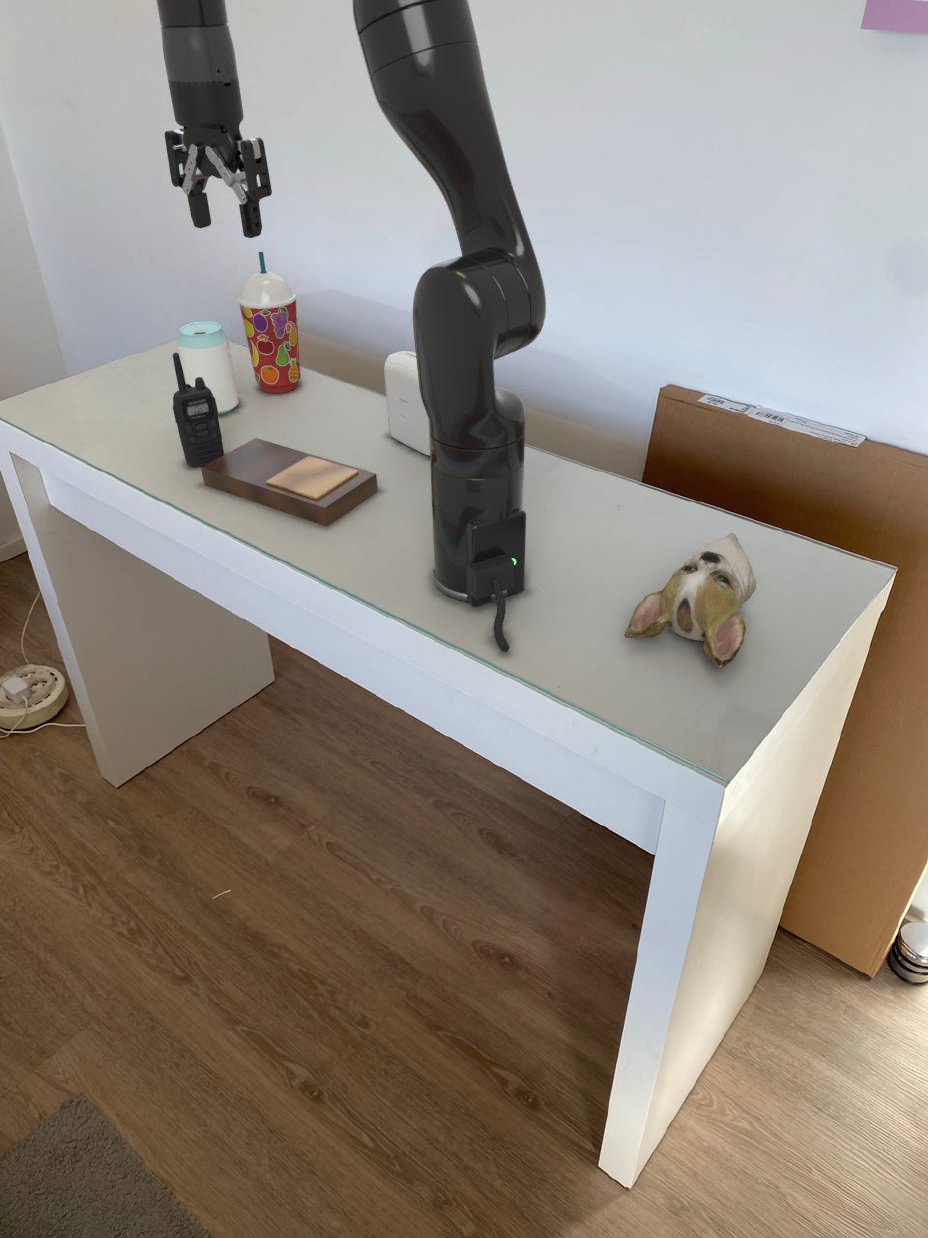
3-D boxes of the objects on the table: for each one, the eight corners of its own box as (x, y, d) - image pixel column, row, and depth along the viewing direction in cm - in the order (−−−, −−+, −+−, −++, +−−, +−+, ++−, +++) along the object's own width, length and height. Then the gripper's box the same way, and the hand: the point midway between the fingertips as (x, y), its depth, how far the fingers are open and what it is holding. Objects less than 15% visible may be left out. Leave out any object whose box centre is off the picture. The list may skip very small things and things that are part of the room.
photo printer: (384, 435, 126) (377, 348, 119) (409, 427, 129) (404, 340, 121) (429, 461, 120) (425, 370, 113) (454, 451, 122) (452, 362, 115)
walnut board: (377, 491, 113) (376, 471, 112) (327, 526, 107) (324, 505, 105) (258, 454, 122) (255, 435, 120) (204, 485, 115) (200, 465, 114)
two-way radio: (189, 470, 119) (164, 358, 110) (179, 457, 122) (154, 347, 113) (229, 460, 121) (209, 349, 112) (219, 448, 124) (198, 339, 115)
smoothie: (289, 372, 146) (271, 241, 134) (316, 387, 141) (301, 252, 129) (242, 385, 142) (220, 251, 130) (269, 401, 136) (249, 263, 125)
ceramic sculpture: (789, 532, 87) (736, 619, 77) (775, 603, 92) (724, 693, 83) (684, 505, 92) (621, 584, 82) (676, 574, 97) (616, 656, 88)
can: (248, 406, 135) (235, 326, 128) (208, 421, 131) (192, 339, 124) (221, 394, 139) (207, 315, 132) (181, 408, 135) (164, 328, 128)
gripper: (132, 74, 100) (163, 230, 110) (222, 81, 93) (246, 247, 103) (185, 67, 105) (210, 217, 115) (274, 74, 98) (293, 232, 108)
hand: (227, 231), depth 109 cm, fingers open, 8 cm apart
